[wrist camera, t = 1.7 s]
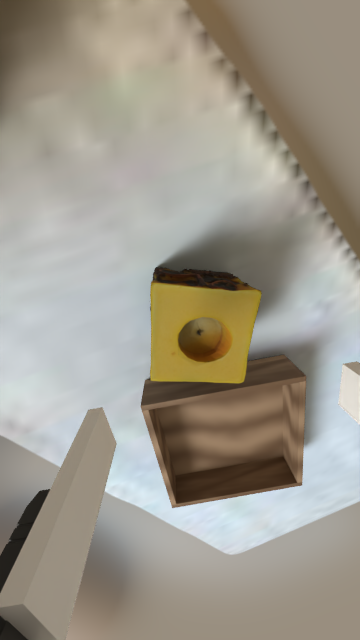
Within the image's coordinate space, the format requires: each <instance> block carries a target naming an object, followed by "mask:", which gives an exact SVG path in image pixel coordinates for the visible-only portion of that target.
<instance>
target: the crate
mask: <svg viewBox="0 0 360 640" xmlns="http://www.w3.org/2000/svg"><path fill="white" fill-rule="evenodd" d="M305 396H306V375H305V374H304V373H303V372H302V371H300V370H299V369H298V368H297V367H296V366H295V365H294V364H293V363H292V362H291V361H290V360H289V359H288V358H287V357H286V356H285V355H279V356H274V357H268V358H263V359H258V360H252V361H247V368H246V375H245V379H244V382H242V383H213V382H187V381H183V382H176V381H151V379H149V380H145V384H144V390H143V395H142V401H141V409H142V412H143V415H144V419H145V422H146V425H147V428H148V431H149V435H150V438H151V441H152V444H153V447H154V451H155V454H156V457H157V460H158V463H159V467H160V470H161V473H162V476H163V479H164V483H165V486H166V489H167V492H168V495H169V499H170V502H171V505H172V508H175V507H181V506H187V505H192V504H198V503H204V502H209V501H215V500H221V499H227V498H232V497H238V496H244V495H249V494H255V493H261V492H267V491H272V490H278V489H284V488H289V487H295V486H301V485H302V475H303V448H304V422H305Z"/></svg>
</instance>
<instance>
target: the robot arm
mask: <svg viewBox="0 0 360 640" xmlns="http://www.w3.org/2000/svg"><path fill="white" fill-rule="evenodd" d="M338 405H340V406H341V407H342V408H343V409H344V410H345V411H346V412H347V413H348V414H349V415H350V416H351V417H352V418H353V419H354V420H355V421H356V422H357V423H358V424H359V425H360V363H359V362H351V363H346V364H343V367H342V376H341V386H340V395H339V404H338ZM115 448H116V441H115V438H114V436H113V433H112V431H111V428H110V426H109V423H108V421H107V418H106V415H105V413H104V410H103V408H102V407H101V408H96V409H90V410H88V412H87V414H86V416H85V418H84V420H83V422H82V424H81V427H80V429H79V431H78V433H77V435H76V437H75V439H74V441H73V443H72V445H71V447H70V449H69V451H68V454H67V456H66V458H65V460H64V462H63V464H62V466H61V468H60V470H59V472H58V474H57V477H56V479H55V481H54V483H53V485H52V487H51V489H48V490H42V491H39V492H38V494H37V495H36V496H35V497H34V499H33V500H32V501H31V502H30V503H29V505H28V506H27V507H26V509H25V511H24V513H23V515H22V517H21V518H20V520H19V522H18V524H17V528H15V530H14V531H13V533H12V535H11V537H10V539H9V543H8V544H6V546H5V548H4V550H3V552H2V554H1V555H0V640H66V636H67V632H68V628H69V624H70V621H71V617H72V613H73V609H74V605H75V602H76V598H77V594H78V590H79V586H80V582H81V579H82V574H83V571H84V567H85V563H86V559H87V555H88V552H89V548H90V544H91V540H92V536H93V532H94V529H95V524H96V520H97V517H98V513H99V509H100V506H101V501H102V498H103V494H104V490H105V486H106V482H107V479H108V475H109V471H110V467H111V463H112V459H113V456H114V452H115Z"/></svg>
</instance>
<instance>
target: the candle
mask: <svg viewBox="0 0 360 640" xmlns="http://www.w3.org/2000/svg"><path fill="white" fill-rule="evenodd" d="M154 271H155V272H154V273H153V281H152V282H151V294H150V296H151V308H150V310H151V370H150V376H151V381H176V382H183V381H187V382H213V383H242V382H244V379H245V375H246V368H247V357H248V352H249V347H250V342H251V338H252V333H253V328H254V323H255V319H256V316H257V312H258V308H259V304H260V300H261V294H262V293H261V291H260V290H257V289H255V288H252V287H250V286H249V285H248V283H244V282H241V280H240V279H239V278H238V277H235V276H233V274H230V273H223V272H212V271H206V270H192V269H189V270H187V269H184V270H183V271H182V272H178V271H174V270H170V269H167V268H161V267H160V268H158V267H156V268H155V270H154Z"/></svg>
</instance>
